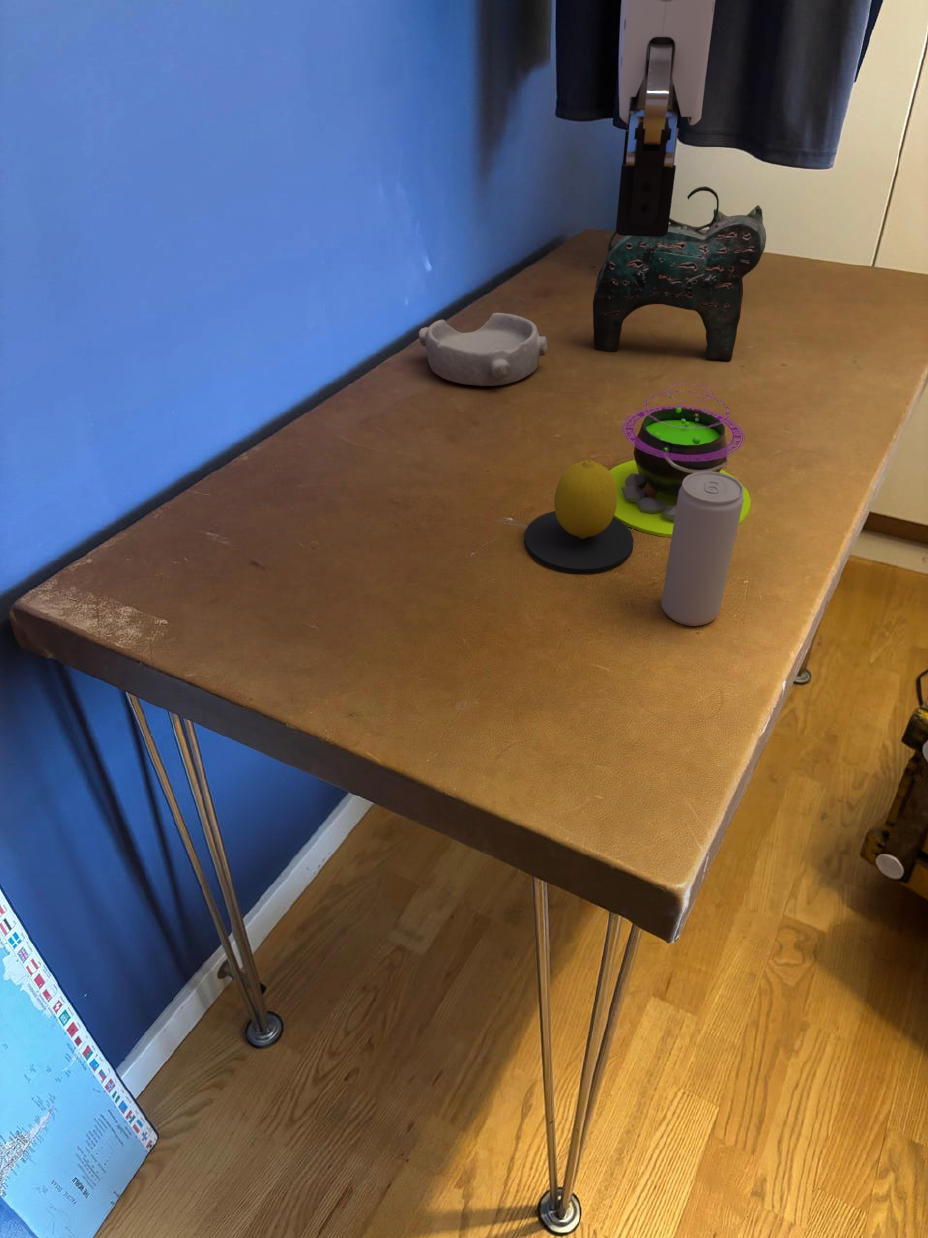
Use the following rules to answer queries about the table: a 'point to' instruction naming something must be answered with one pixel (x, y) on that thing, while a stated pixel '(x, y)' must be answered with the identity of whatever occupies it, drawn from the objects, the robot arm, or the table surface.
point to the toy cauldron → (670, 462)
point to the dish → (484, 350)
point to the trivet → (577, 546)
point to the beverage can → (701, 547)
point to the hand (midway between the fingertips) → (642, 213)
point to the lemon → (585, 499)
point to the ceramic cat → (681, 276)
